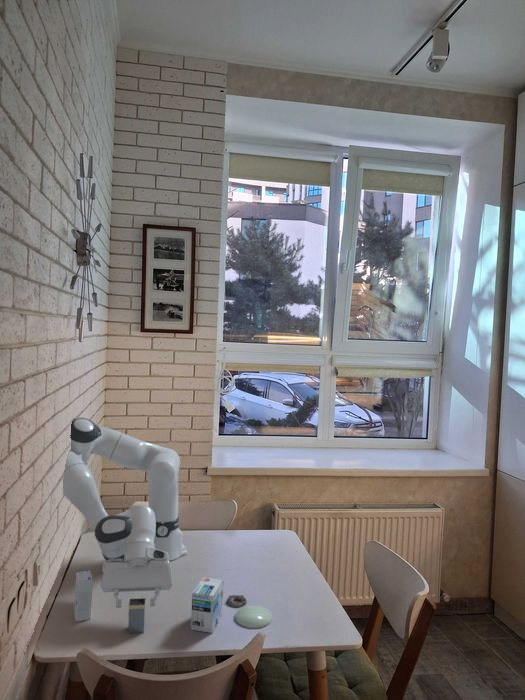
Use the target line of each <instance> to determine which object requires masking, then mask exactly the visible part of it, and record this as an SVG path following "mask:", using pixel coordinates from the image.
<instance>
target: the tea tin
mask: <svg viewBox="0 0 525 700" xmlns="http://www.w3.org/2000/svg"><path fill="white" fill-rule="evenodd" d="M145 618H146V598H145V597H144V598H141V597H140V598H130V599H129V604H128V625H127V626H128V628H127V629H128V633H127V634H128V635H129V634H130V635H132V634H144V632H145V621H146V619H145Z"/></svg>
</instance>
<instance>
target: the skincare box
mask: <svg viewBox="0 0 525 700" xmlns="http://www.w3.org/2000/svg"><path fill="white" fill-rule="evenodd" d="M93 582H94V580H93V575H92V572H91V570H84V571H78V572H76V573H75V585H74V586H75V588H74V604H73V606H74V608H73V617H74V621H75V622H82V621H89V620H91V618H92V617H91V615H92V614H91V613H92V600H93V599H92V598H93V597H92V596H93Z"/></svg>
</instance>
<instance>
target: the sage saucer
mask: <svg viewBox="0 0 525 700" xmlns="http://www.w3.org/2000/svg"><path fill="white" fill-rule="evenodd" d="M235 621H236V622H237V624H238V625H241V626H243V627H245V628H248V629H249V628H250V629H260V628H265V627H267V626H269V625H270V624H271V623H272V621H273V613H272V612H271V610H270V609H268V608H266V607H264V606H259V605H248V606H247V605H246V606H242V607H239V609H238V610H237V611H236V613H235Z"/></svg>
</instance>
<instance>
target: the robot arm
mask: <svg viewBox="0 0 525 700" xmlns="http://www.w3.org/2000/svg"><path fill="white" fill-rule="evenodd" d="M72 420H73V421H72ZM72 420H71V421H72V424H71V435H70V436H71V437H70V438H71V450H69V452H68V455H67V459H66V464H65V470H64V478H63V493H62V495H63V496H64V497H65V499H67V500H68V501H69V502H70V503H71V504H72V505H73V506H74V507H75V508H76V509H77V510H78V511H79V512H80V513H81V514H82V515H83V517H84V518H85V519H86V520H87V522H88V524H89V526H90V527H91V528H92V530H93V531H94V537H95V539H96V542H97V543H98V546H99V548H100V551H101V553H102V556H103V557H102V558H103V559H104V562H103V563H102V569H101V570H102V573H103V574H102V578H101V583H100V589H101V590H102V592H103V593H112V596H113V598H114V599H115V608H116V609H120V608H122V602H123V601H122V599H121V598H120V599H119V597H118V596H119V593H122V592H123V593H125V592H126V593H129V592H153V591H154V596H153V597H151V598H150V600H149V607H156V601H157V599H158V597H159V596H160V594H161V591H170V590H171V589H172V587H173V573H172V572H173V571H172V570H173V569H172V566H171V563H170V561H174V560H176V559H178V558H180V557H181V556H185V555H187V554H188V550H187V548H186V546H185V545H184V543H183V542H184V540H183V532H182V530H181V529H180V528H179V527H180V516H179V514H178V513H179V472H180V466H181V458H180V455H179V454H178V452H177V451H176V450H174V449H173V448H169V447H164V446H162V445H157V444H155V443H151V442H147V441H144V440H141V439H138V438H136V437H134V436H131V435H128V434H126V433H123V432H121V431H119V430H116V429H113V428H109V427H106V426H105V427H104V426H98V425H97V424H96V423H94V422H93V420H90V419H88V418H85V417H79V418H73V419H72ZM92 454H93V455H94V454H96V455H98V456H99V457H101V458H103V459H105V460H108V461H109V462H112V463H113V464H117V465H119V466H122V467H123V468H124V467H125V468H127V469H131V470H139V471H142V472H147V484H148V485H147V488H148V506H147V505H145V504H135V505H132V506H130V508H128V509H127V510H125V511H122V512H121V513H118V514H108V513H107V511H106V509H105V507H104V505H103V503H102V501H101V497H100V493H99V490H98V486H97V484H96V481H95V478H94V476H93V474H92V472H91V470H90V468H89V467H88V466H87V464H88V461H89V459H90V457H91V455H92Z"/></svg>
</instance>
